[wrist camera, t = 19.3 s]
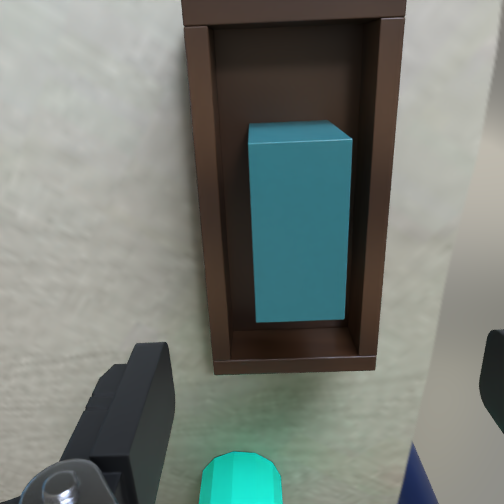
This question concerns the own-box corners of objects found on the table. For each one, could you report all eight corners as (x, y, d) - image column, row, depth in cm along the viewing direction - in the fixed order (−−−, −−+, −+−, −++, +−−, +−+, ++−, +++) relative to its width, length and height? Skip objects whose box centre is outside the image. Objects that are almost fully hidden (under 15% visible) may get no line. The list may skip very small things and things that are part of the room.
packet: (328, 119, 23) (352, 138, 17) (324, 264, 26) (344, 320, 20) (248, 123, 23) (247, 143, 17) (255, 267, 26) (255, 323, 20)
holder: (360, 332, 28) (375, 371, 25) (218, 337, 29) (214, 375, 25) (382, 0, 21) (408, -12, 18) (192, 8, 21) (180, -2, 18)
